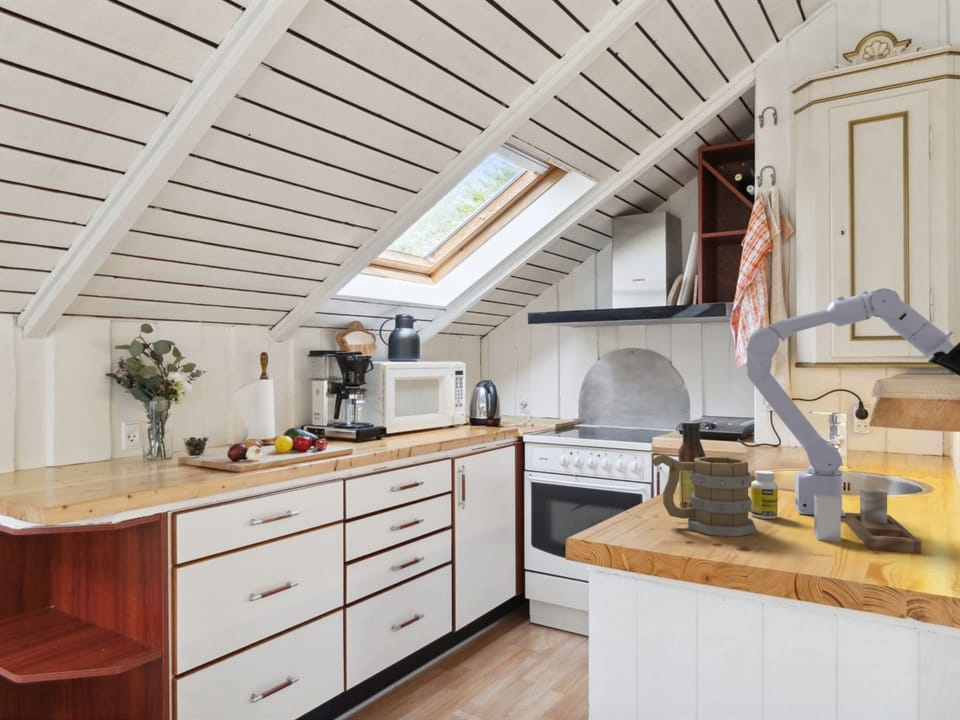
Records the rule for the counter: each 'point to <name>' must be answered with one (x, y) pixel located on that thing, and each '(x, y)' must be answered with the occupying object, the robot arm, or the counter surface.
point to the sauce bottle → (688, 460)
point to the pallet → (880, 525)
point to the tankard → (712, 495)
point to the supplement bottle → (764, 495)
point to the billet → (827, 517)
